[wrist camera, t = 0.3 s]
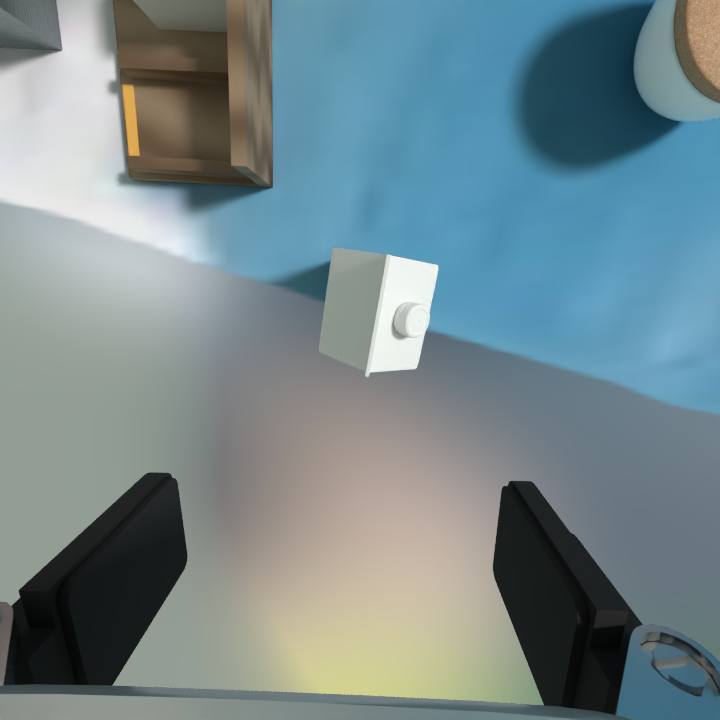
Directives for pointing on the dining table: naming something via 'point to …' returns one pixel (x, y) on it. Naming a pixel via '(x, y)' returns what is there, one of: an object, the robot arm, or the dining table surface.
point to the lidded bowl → (680, 60)
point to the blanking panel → (29, 24)
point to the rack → (197, 90)
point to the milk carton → (376, 310)
